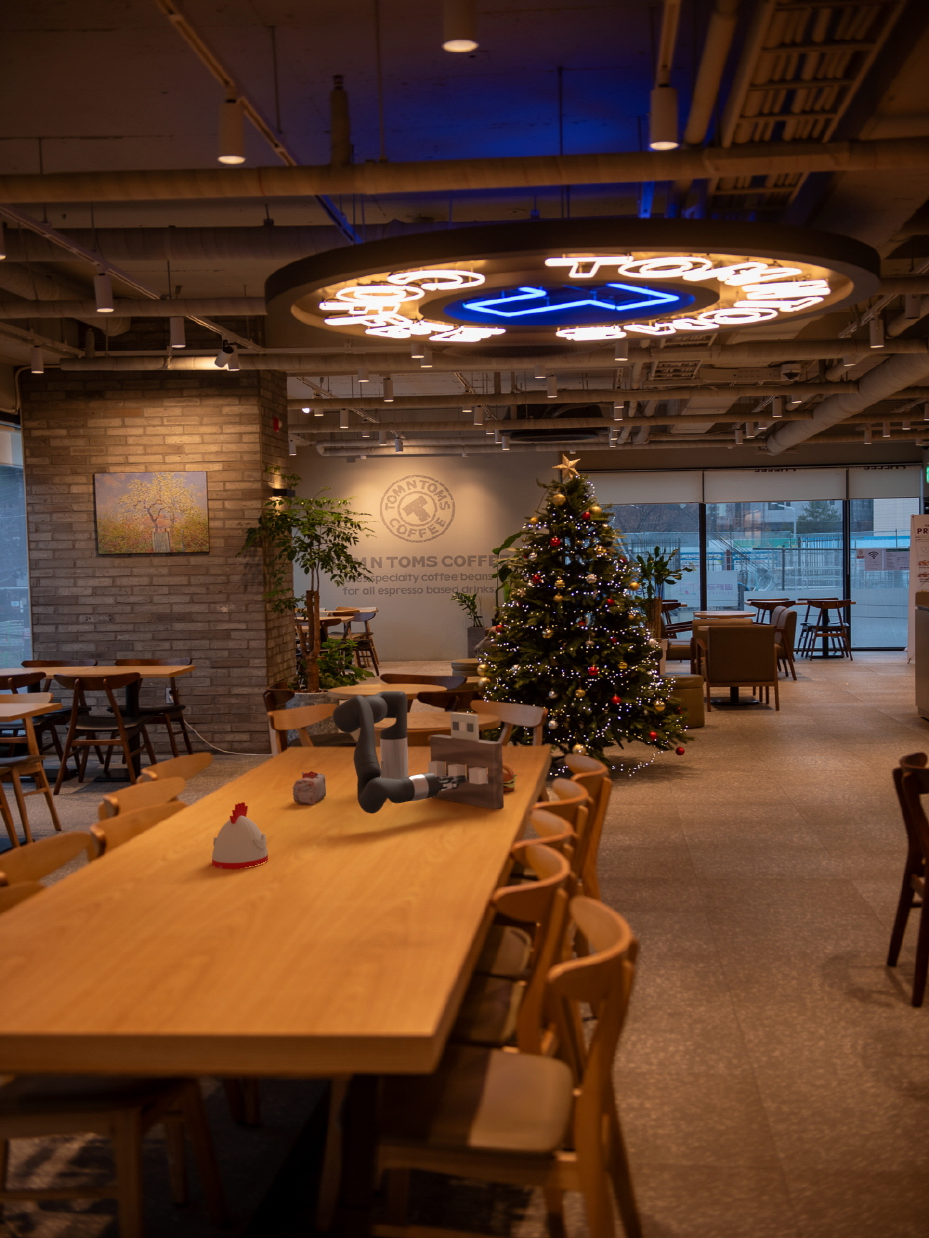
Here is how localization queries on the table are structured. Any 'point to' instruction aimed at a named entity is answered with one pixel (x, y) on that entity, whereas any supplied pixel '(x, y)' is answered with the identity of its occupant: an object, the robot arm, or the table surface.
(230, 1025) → the table surface
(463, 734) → the pattern sign
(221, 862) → the kitchen timer
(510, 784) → the cheeseburger
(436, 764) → the left button
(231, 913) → the table surface
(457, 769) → the middle button
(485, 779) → the right button
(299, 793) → the food item
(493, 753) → the console
